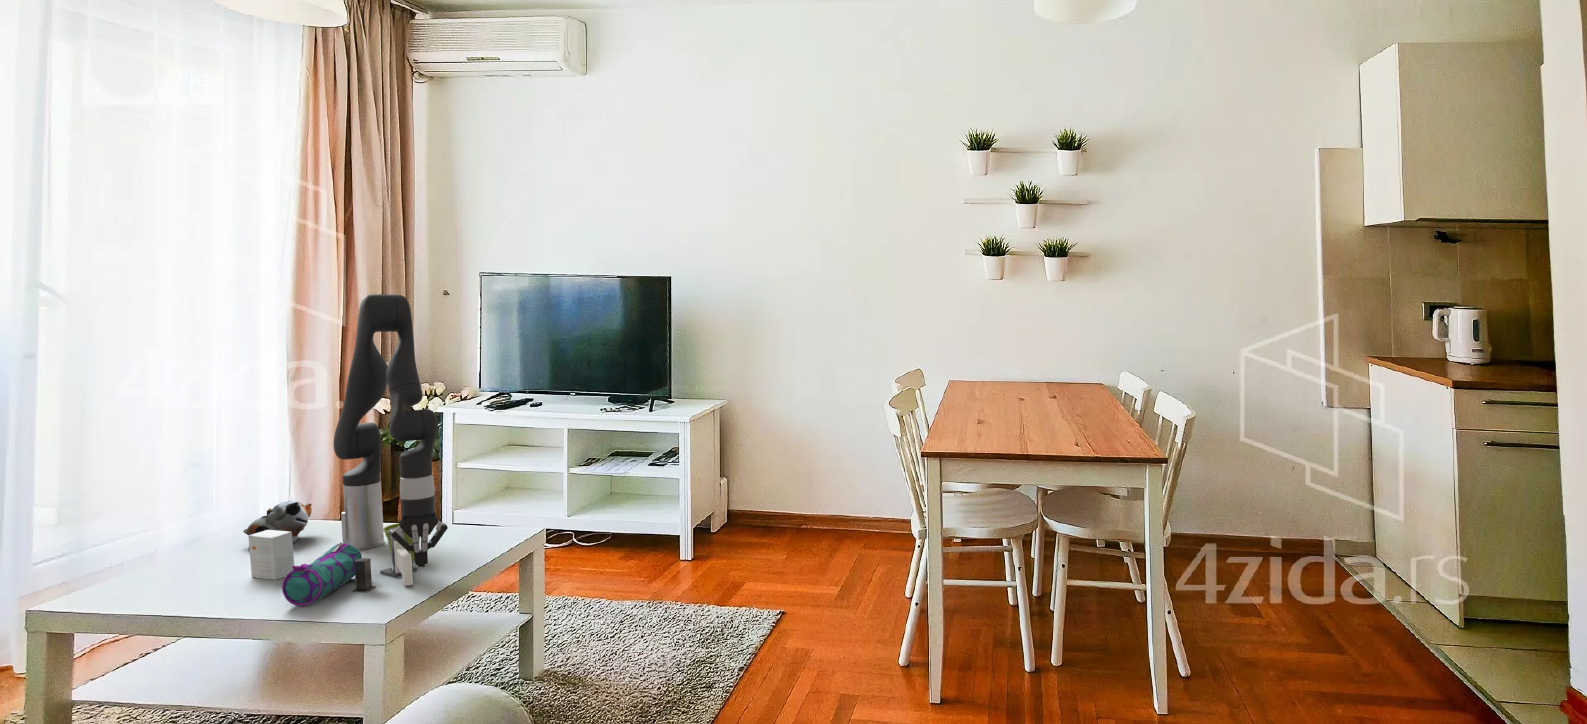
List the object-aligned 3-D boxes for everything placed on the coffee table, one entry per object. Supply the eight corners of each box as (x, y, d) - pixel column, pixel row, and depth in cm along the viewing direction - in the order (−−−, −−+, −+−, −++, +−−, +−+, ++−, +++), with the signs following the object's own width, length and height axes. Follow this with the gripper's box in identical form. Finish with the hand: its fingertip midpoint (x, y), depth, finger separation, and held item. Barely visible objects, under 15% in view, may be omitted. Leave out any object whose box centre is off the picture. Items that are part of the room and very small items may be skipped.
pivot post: (380, 574, 219) (377, 530, 219) (402, 567, 225) (399, 524, 224) (395, 577, 216) (393, 533, 215) (417, 570, 222) (415, 527, 221)
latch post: (352, 591, 207) (350, 561, 206) (361, 586, 210) (359, 557, 210) (367, 592, 206) (365, 562, 206) (375, 586, 210) (374, 557, 209)
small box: (295, 573, 221) (293, 531, 220) (275, 580, 216) (273, 537, 215) (270, 570, 224) (268, 528, 223) (250, 577, 218) (247, 535, 217)
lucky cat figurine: (273, 534, 257) (297, 489, 258) (305, 553, 254) (329, 508, 255) (232, 532, 242) (258, 486, 244) (265, 553, 239) (292, 505, 241)
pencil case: (327, 578, 217) (324, 539, 216) (364, 577, 217) (362, 538, 216) (280, 609, 196) (278, 566, 195) (322, 608, 196) (319, 565, 196)
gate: (395, 573, 218) (394, 541, 217) (405, 572, 219) (403, 539, 218) (403, 586, 209) (401, 552, 208) (413, 584, 210) (412, 550, 209)
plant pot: (410, 566, 225) (408, 532, 225) (376, 564, 227) (375, 530, 226) (432, 555, 234) (430, 522, 234) (400, 553, 236) (398, 521, 236)
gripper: (444, 488, 218) (448, 557, 220) (385, 494, 212) (389, 566, 213) (449, 494, 212) (453, 565, 213) (388, 501, 206) (392, 575, 207)
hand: (421, 566), depth 213 cm, fingers closed
